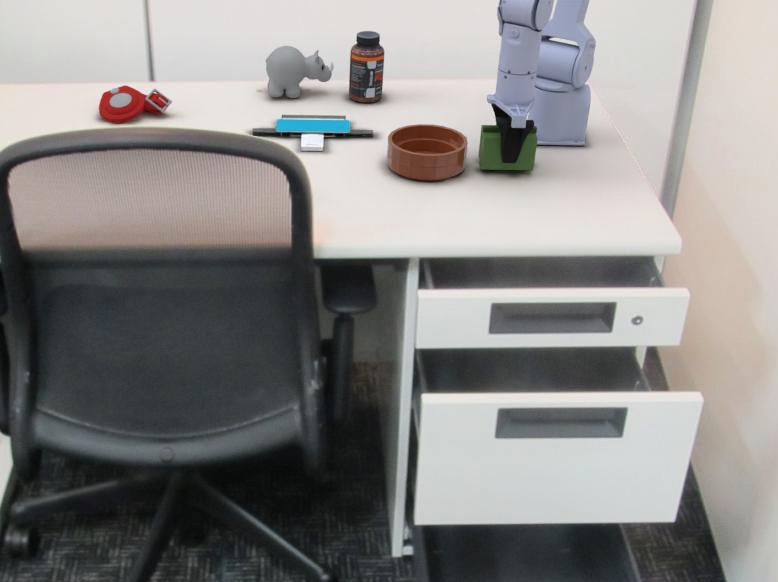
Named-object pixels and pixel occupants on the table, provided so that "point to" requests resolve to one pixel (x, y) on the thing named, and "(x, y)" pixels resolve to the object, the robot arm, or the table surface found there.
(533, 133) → the green block
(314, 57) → the round bodied animal figurine
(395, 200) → the table surface
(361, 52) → the supplement bottle
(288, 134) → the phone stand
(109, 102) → the tracker holder
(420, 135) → the bowl
